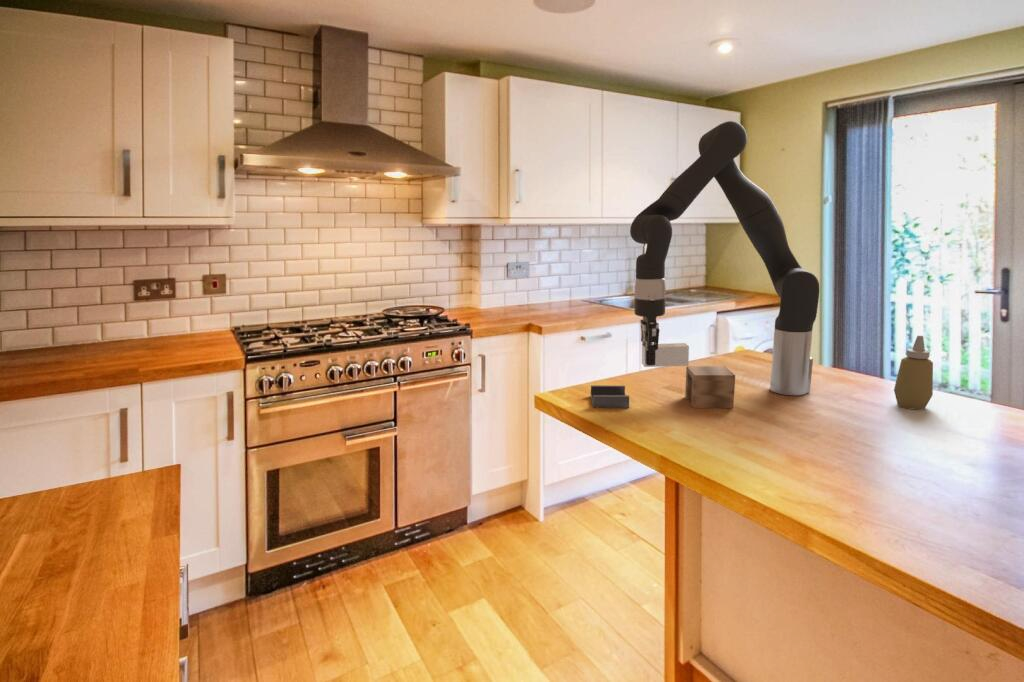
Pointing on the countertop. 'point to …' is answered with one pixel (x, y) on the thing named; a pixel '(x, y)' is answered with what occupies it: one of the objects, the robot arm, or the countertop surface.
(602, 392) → the grey channel block
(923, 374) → the squeeze bottle
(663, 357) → the shiny metal block
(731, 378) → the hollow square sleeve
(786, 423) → the countertop surface
